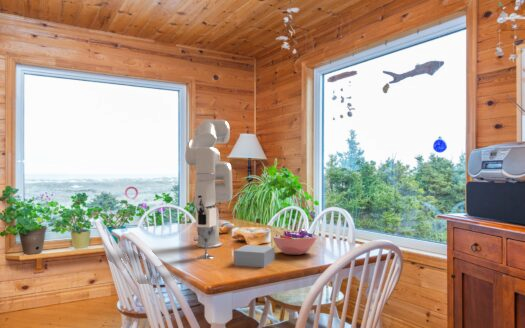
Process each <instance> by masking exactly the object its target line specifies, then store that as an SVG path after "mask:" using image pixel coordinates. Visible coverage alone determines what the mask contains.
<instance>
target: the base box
mask: <svg viewBox="0 0 525 328" xmlns="http://www.w3.org/2000/svg"><path fill="white" fill-rule="evenodd" d="M275 246H276V245H275ZM275 246H272V245H258V244H257V245H256V244H255V245H254V244H245V245H243V246H241V247H239V248H237V249H234V250H233V265H234V266H242V267H255V268H266V267H267V266H269V265H270V264H271V263H273V262H274V261H275V260H276V258H275V257H276V255H275V254H276V253H275V252H276V250H275V249H276V247H275Z"/></svg>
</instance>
